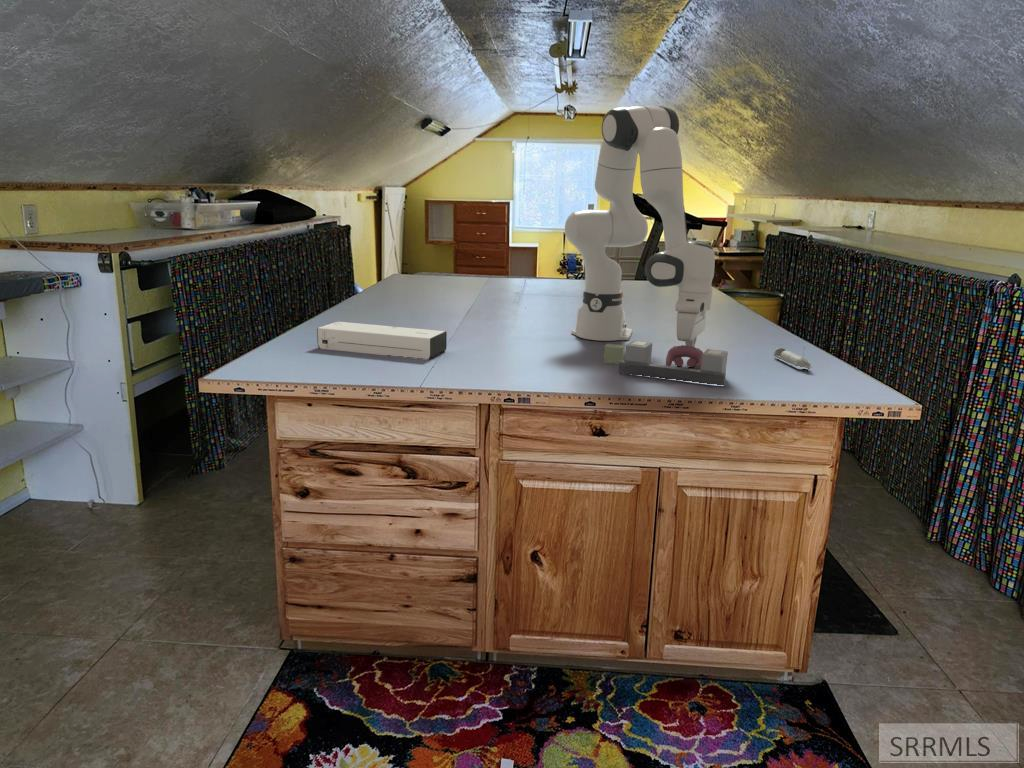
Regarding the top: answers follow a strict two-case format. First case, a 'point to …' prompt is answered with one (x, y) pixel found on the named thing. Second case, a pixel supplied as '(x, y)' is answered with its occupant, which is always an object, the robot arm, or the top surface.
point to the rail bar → (671, 372)
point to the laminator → (381, 340)
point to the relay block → (613, 353)
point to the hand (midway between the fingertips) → (689, 352)
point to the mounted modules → (710, 361)
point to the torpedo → (792, 358)
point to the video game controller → (684, 351)
